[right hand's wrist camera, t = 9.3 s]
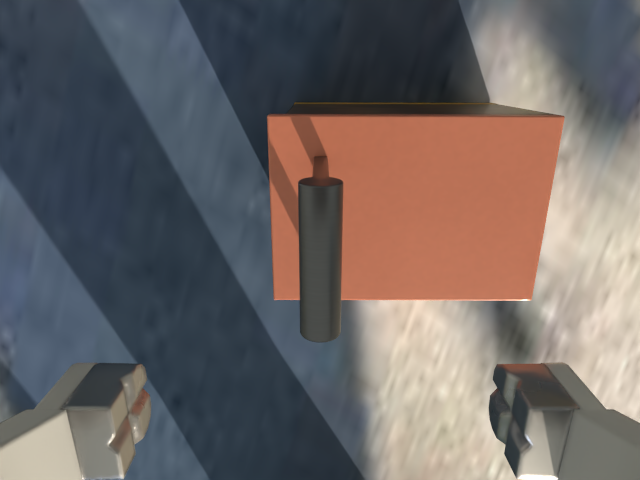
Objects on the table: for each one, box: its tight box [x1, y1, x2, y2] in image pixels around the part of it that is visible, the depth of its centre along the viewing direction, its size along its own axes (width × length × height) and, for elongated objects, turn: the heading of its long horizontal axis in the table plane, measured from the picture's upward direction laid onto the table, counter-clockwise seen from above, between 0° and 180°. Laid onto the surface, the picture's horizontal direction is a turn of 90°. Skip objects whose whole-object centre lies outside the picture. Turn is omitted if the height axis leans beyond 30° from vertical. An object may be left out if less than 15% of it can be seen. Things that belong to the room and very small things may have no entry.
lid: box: [267, 114, 564, 342], centre depth 21 cm, size 14×10×8 cm
